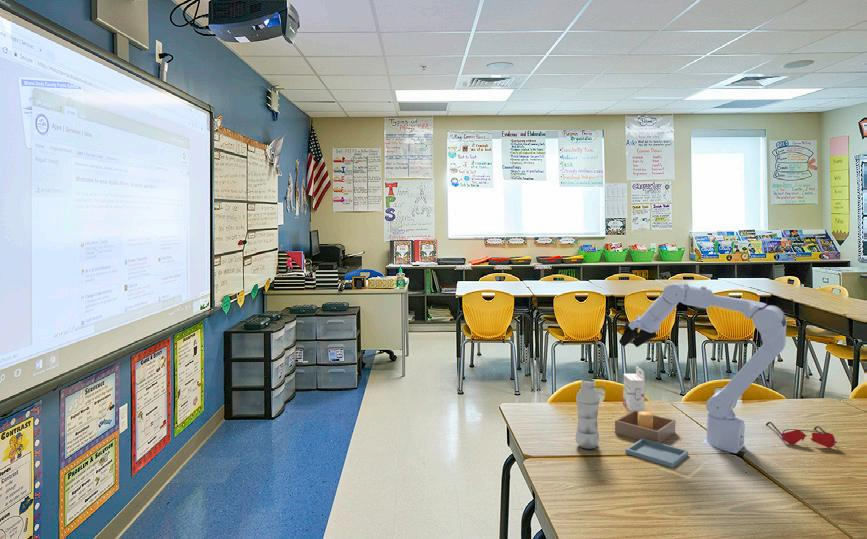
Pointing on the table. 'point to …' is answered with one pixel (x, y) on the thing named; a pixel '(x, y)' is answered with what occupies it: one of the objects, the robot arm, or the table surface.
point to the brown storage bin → (631, 429)
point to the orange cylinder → (645, 420)
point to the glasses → (797, 435)
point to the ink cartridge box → (634, 390)
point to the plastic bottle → (587, 415)
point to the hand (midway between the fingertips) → (628, 344)
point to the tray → (657, 452)
